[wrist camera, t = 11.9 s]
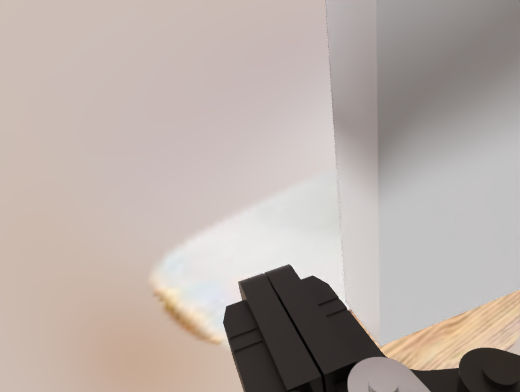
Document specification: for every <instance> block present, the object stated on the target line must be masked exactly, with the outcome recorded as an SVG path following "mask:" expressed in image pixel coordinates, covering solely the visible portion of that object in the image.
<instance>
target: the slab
mask: <svg viewBox="0 0 520 392" xmlns="http://www.w3.org/2000/svg"><path fill="white" fill-rule="evenodd" d="M325 3H326V18H327V33H328V48H329V63H330V78H331V93H332V108H333V121H334V122H333V123H334V137H335V153H336V168H337V183H338V198H339V212H340V227H341V242H342V257H343V272H344V287H345V302H346V303H347V305H348V306H349V307H350V308H351V310H352V311H353V312H354V314H355V315H356V316H357V317H358V319H359V320H360V321H361V323H362V324H363V325H364V326H365V328H366V329H367V330H368V332H369V333H370V334H371V335H372V337H373V338H374V339H375V341H376V342H377V343H378V344H379V346H382V345H385V344H387V343H390V342H392V341H395V340H397V339H400V338H402V337H404V336H407V335H409V334H412V333H414V332H417V331H419V330H422V329H424V328H427V327H429V326H431V325H434V324H436V323H439V322H441V321H444V320H446V319H449V318H451V317H454V316H456V315H458V314H461V313H463V312H466V311H468V310H471V309H473V308H476V307H478V306H481V305H483V304H486V303H488V302H490V301H493V300H495V299H498V298H500V297H503V296H505V295H508V294H510V293H513V292H515V291H517V290H520V0H325Z"/></svg>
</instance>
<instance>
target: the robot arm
mask: <svg viewBox="0 0 520 392" xmlns="http://www.w3.org/2000/svg"><path fill="white" fill-rule="evenodd" d="M238 284H239V289H240V293H241V297H242V301H240V302H238V303H235V304H232V305H229V306H226V311H225V316H224V321H223V324H224V327H225V331H226V334H227V338H228V341H229V345H230V348H231V352H232V355H233V359H234V362H235V365H236V369H237V372H238V375H239V378H240V381H241V384H242V387H243V390H244V392H520V356H519V355H516V354H513V353H510V352H507V351H503V350H499V349H495V348H478V349H474V350H471V351H469V352H467V353H466V354H465V355H464V356H463V357H462V359H461V361H460V363H459V368H454V369H442V370H430V371H419V370H412V369H408V368H407V367H406V366H405V365H403V364H402V363H400V362H398V361H396V360H393V359H390V358H387V357H386V356H385V355H384V354H383V353H382V352H381V351H380V349H379V348H378V347H377V346H376V344H375V343H374V342H373V341H372V339H371V338H370V337H369V335H368V334H367V333H366V332H365V330H364V329H363V328H362V326H361V325H360V324H359V323H358V321H357V320H356V319H355V318H354V316H353V315H352V314H351V312H350V311H348V310H347V307H346V306H345V305H344V304H343V302H342V301H341V300H339V298H338V296H337V295H336V293H335V292H334V291H333V290H332V288H331V287H330V286H329V284H327V283H325V282H324V281H322V280H320V279H318V278H316V277H315V276H310V277H307V278H305V279H302V280H301V279H300V278H299V277H298V275H297V274H296V272H295V271H294V269H293V268H292V266H291V265H289V264H288V265H285V266H282V267H280V268H277V269H274V270H271V271H268V272H265V273H264V274H260V275H257V276H254V277H251V278H248V279H245V280H242V281H239V282H238Z"/></svg>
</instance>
